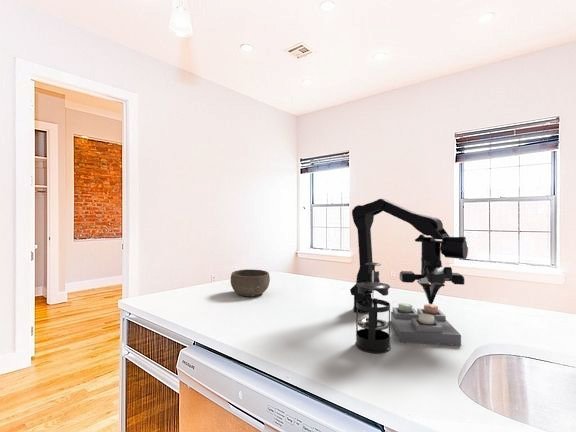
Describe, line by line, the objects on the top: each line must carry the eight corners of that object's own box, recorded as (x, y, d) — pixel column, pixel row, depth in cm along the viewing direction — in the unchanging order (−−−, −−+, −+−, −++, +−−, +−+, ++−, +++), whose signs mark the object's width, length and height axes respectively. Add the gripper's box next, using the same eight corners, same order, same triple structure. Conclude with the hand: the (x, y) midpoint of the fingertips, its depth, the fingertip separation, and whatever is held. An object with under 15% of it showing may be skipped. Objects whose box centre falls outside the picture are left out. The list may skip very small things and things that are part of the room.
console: (400, 341, 93) (400, 326, 93) (391, 320, 111) (391, 307, 111) (460, 345, 90) (460, 329, 90) (440, 323, 109) (440, 309, 109)
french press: (390, 356, 83) (390, 266, 83) (353, 351, 86) (353, 264, 86) (390, 339, 94) (391, 260, 94) (357, 335, 97) (358, 259, 97)
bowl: (268, 299, 139) (268, 275, 139) (226, 299, 139) (226, 275, 139) (270, 289, 156) (270, 269, 156) (234, 289, 156) (234, 268, 156)
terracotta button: (425, 313, 104) (425, 307, 104) (422, 309, 108) (422, 304, 108) (439, 313, 103) (439, 308, 103) (435, 310, 107) (435, 304, 107)
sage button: (399, 311, 105) (399, 306, 105) (397, 308, 110) (397, 302, 110) (413, 312, 105) (413, 306, 105) (410, 308, 109) (410, 303, 109)
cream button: (420, 323, 94) (420, 317, 94) (417, 319, 98) (417, 313, 98) (435, 324, 93) (435, 318, 93) (432, 320, 97) (432, 314, 97)
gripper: (405, 258, 99) (405, 309, 99) (471, 260, 96) (471, 313, 96) (399, 254, 110) (399, 300, 110) (458, 255, 107) (458, 302, 107)
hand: (430, 304), depth 106 cm, fingers closed
